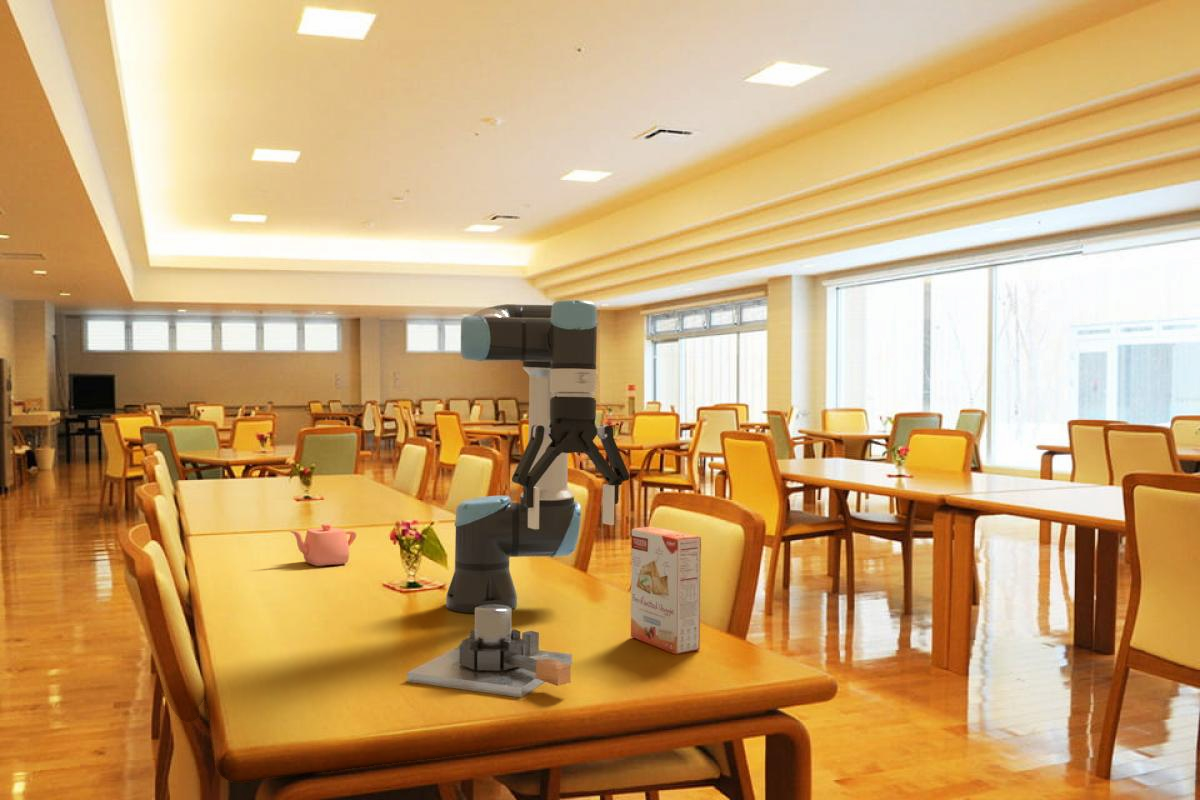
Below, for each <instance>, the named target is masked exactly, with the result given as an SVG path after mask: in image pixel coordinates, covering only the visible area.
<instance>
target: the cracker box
mask: <svg viewBox="0 0 1200 800" xmlns="http://www.w3.org/2000/svg"><path fill="white" fill-rule="evenodd" d="M701 554H702V537H701V536H700V535H699V536H698V535H694V534H690V533H686V532H681V531H677V530H676V531H675V530H671V529H667V528H663V527H658V526H645V527H643V526H642V527H634V528H632V529H631V557H630V558H631V560H630V562H631V563H630V564H631V569H630V570H631V571H630V572H631V573H630V575H631V577H630V578H631V579H630V580H631V581H630V583H631V584H630V587H631V588H630V589H631V590H630V637H631V638H633V639H635V638H636V640H638V641H641V642H643V643H646V644H648V645H651V646H654V647H656V648H658V649H660V650H661V649H662V650H664V651H666V652H668V653H671V654H674V655H680V654H684V653H685V654H686V653H690V652H695V651H696V652H697V651H700V648H701V576H702V575H701V574H702V573H701V571H702V570H701V567H702V566H701V564H702V563H701V561H702V560H701V558H702V557H701V556H702V555H701Z"/></svg>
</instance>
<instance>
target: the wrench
mask: <svg viewBox="0 0 1200 800" xmlns="http://www.w3.org/2000/svg"><path fill="white" fill-rule="evenodd" d="M459 646H460V657H459V664H460V665H462V666H465V667H468V668H471V669H473V670H474V669H477V670H499V671H500V669H502V670H506V669H510V668H514V667H520V668H522V669H525V670H528V671H531V672H534V673H536V679H539V680H542V681H545V682H544V683H548V684H551V685H553V686H557V687H559V686H562V685H566V684H569V683H571V673H572V672H571V669H572V668H571V667H572V666H571V664H570V665H568V664H564V663H561V662H558V661H555V660H552V659H545V660H541V661H538V660H535V659H532V658H529V657H526V656H525V641H524V639H522V638H521V630H517V629H511V639H509V640H504V641H503V648H502V649H480V648H478V640H476V639H475V629H471V630H469V637H467V638H464V639H462V640H461V642H460V644H459Z"/></svg>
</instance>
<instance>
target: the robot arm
mask: <svg viewBox="0 0 1200 800" xmlns="http://www.w3.org/2000/svg"><path fill="white" fill-rule="evenodd" d="M596 305H597V304H595V303H594V302H592V301H589V300H581V299H580V300H579V299H576V300H575V299H566V300H565V299H564V300H557V301H555V302H553V304H514V303H513V304H509V303H508V304H507V303H506V304H500V305H499V304H498V305H494V306H490V307H485V308H483V309H480V310H478V311H477V312H475V313H473V315H471V316H464V317H463V318H462V319H461V320H460V355H461V358H462V359H464V360H467V361H468V360H469V361H477V362H484V361H487V362H488V361H490V362H491V361H493V362H494V361H495V362H497V361H498V362H499V361H503V362H506V361H507V362H508V361H509V362H510V361H515V362H516V361H520V362H522V369H523V371H525V372H526V374H528V377H529V385H528V386H529V387H528V388H529V389H528V394H529V395H528V396H529V397H528V398H529V399H528V443H527V444H526V447H525V449H524V451H523V454H522V456H521V458H520V460H519V462H518V464H517V466H516V468H515V470H514V472H513V474H512V477H511V481H512V483H514V484H517V485H520V486H521V487H522V489H523V491H522V492H521V493H520V501H519V502H512V499H511V498H510V496H509V495H504V494H503V495H489V496H481V497H476V498H471V499H467V500H464V501H462V502H460V503H459V504H458V505H457V506H456V509H455V522H454V527H455V543H454V544H455V547H454V571H453V575H452V578H451V582H450V584H449V586H448V588H447V589H448V590H447V593H446V596H445V597H446V598H445V607H446V609H448V610H450V611H453V612H458V613H466V614H475V608H476V607H478V606H481V605H490V604H499V605H506V606H510V607H511V608H512V610H513V609H515V608H516V607H517V606H518V595H517V590H516V586H515V584H514V581H513V577H512V574H511V572H510V558H516V557H517V558H523V557H528V558H529V557H536V558H537V557H541V558H542V557H547V558H555V557H565V556H566V557H568V556H570V555H572V554H573V553H574V551H575V549H576V548H577V545H578V541H579V536H580V530H581V521H582V520H581V519H582V518H581V516H582V506H581V503H579V502H578V501H576V500H575V494H574V492H572V491H571V489H570V488H569V486H568V475H569V474H568V471H569V470H568V466H569V463H568V462H569V454H573V453H574V454H575V453H578V454H585V455H587V457H588V458H589V459H590V461H591V462H592V464H593V465H594V466H595V468H596V469H597V470H598V471H599V473H600V474H601V476H602V477H603V478H604V479H605V481H606V483H604V484H602V519H601V520H602V524H603V525H604V524H605V525H608V526H614V525H615V505H618V504H619V502H620V501H619V494H620V493H619V490H620V486H622V484H623V482H625V481H629V480H630V474H629V471H628V469H627V467H626V464H625V461H624V460H623V457H622V455H621V452H620V450H619V448H618V445H617V443H616V440H615V437H614V436H615V435H614V428H613V426H612V425H609V424H601V425H600V426H597V425H596V419H597V417H596V416H597V399H596V398H595V397H593V395H594V394H596V393H597V342H598V340H597V336H598V325H599V320H598V312H597V311H598V310H597V306H596ZM596 437H598V439H600V442H601V444H602V447H603V450H604V452H605V453H606V456H607V459H608V461H609V463H610V464H609V463H608V461H607V459H606V458H605V457H604V456H603V455H602V453H601V452H600V450H599V449H600V448H598V446H597V444H596V443H595V442H594V440H595V439H596ZM610 465H611V466H610Z"/></svg>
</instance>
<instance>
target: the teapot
mask: <svg viewBox="0 0 1200 800" xmlns="http://www.w3.org/2000/svg"><path fill="white" fill-rule="evenodd" d="M289 532H290V533H291V534H293V535H294V536H295V538H296V544H297V548H298V550H299V551H300V552H301V553H302V554H303V559H304V561H305V562H306V563H307V564H309V565H313V566H315V567H318V566H319V567H324V566H330V565H331V566H332V565H333V566H340V565H342V564H347V563H348V562H349V559H350V546H351V545H352V544H353V542H355V540H356V538H357V534H358V533H357V531H355V530H352V529H351V530H343V529H341V528H338V527H332V524H331V523H324V524H321V527H320V528H319V527H318V528H308V529H307V531H306V534H305V538H304V540H303V536H302V534H301V533H300V532H299V531H297V530H289ZM347 535H349V538H348V536H347Z"/></svg>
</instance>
